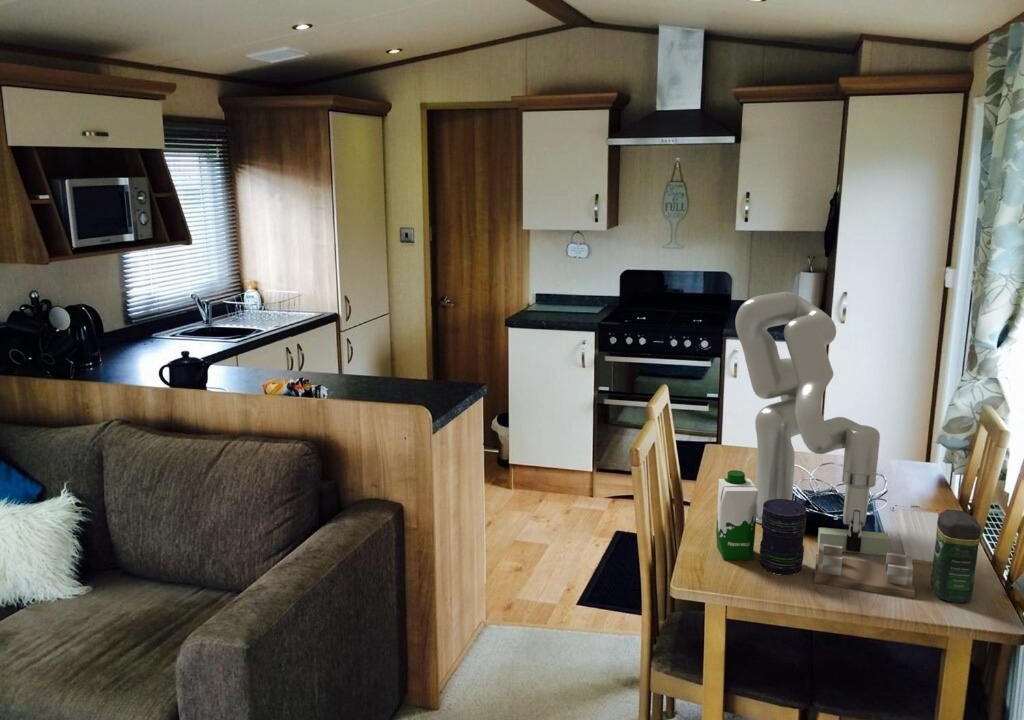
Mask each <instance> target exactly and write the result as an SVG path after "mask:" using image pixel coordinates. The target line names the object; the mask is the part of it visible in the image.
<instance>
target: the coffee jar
mask: <svg viewBox="0 0 1024 720" xmlns="http://www.w3.org/2000/svg"><path fill="white" fill-rule="evenodd" d="M938 516H939V517H938V521H937V533H936V543H935V551H934V559H933V565H931V566H932V568H931V571H930V572H931V574H930V581H929V582H930V588H931V590H932V592H933V594H934V595H935V597H938V598H939V599H941V600H945V601H949V602H950V603H954V604H955V603H957V604H958V603H959V604H960V603H967V602H971V601H972V599H973V594H974V593H973V592H974V586H975V585H974V584H975V574H976V568H977V562H978V561H977V560H978V551H979V545H980V539H981V529H982V528H981V525H980V523H979V522H978V521H977V520H976V518H975V517H974V516H972V515H970V514H969V513H967V511H965V510H958V509H957V510H956V509H948V508H947V509H945V510H943V511H942V512H940V513H939V514H938Z"/></svg>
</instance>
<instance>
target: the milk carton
mask: <svg viewBox="0 0 1024 720" xmlns="http://www.w3.org/2000/svg"><path fill="white" fill-rule="evenodd" d="M745 477H746V474H745V472H744V471H742V470H735V469H732V470H729V471H728V472H727V477H724V478H718V490H717V491H718V492H717V493H718V494H717V508H716V510H717V512H716V513H717V514H716V528H715V529H716V531H715V532H716V548H717V549H718V552H719V553H720V555H721V557H722V560H724V561H738V560H740V561H745V560H747V561H748V560H751V561H753V556H754V550H755V549H754V547H755V540H756V539H755V538H756V537H755V536H756V524H757V522H756V510H757V496H758V490H757V489H756V486H755V485H756V484H754V482H753V481H752V480H751V478H745Z"/></svg>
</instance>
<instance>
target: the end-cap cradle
mask: <svg viewBox="0 0 1024 720" xmlns="http://www.w3.org/2000/svg"><path fill="white" fill-rule="evenodd" d="M842 555H843V551H842V546H836V545H828V544H821V543H820V544H819V547H818V554H817V553H816V555H815V566H814V567H815V568H814V582H815V583H814V584H819V583H820V585H826V584H828V585H827V586H832V585H834V587H839V588H848V589H853V590H857V591H858V590H859V591H867V592H872V593H878V594H884V595H885V594H886V595H892V596H897V595H898V596H899V597H904V596H906V597H905V598H910V597H913V599H914V598H915V585H914V579H913V576H914V575H913V573H914V567H913V562H912V560H911V556H908V555H905V554H899V553H892V552H889V553H887V555H886V559H885V563H883V562H882V563H881V562H875V561H869V560H868V561H867V560H859V559H854V558H847V557H846V558H845V557H842ZM898 596H897V597H898Z"/></svg>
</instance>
